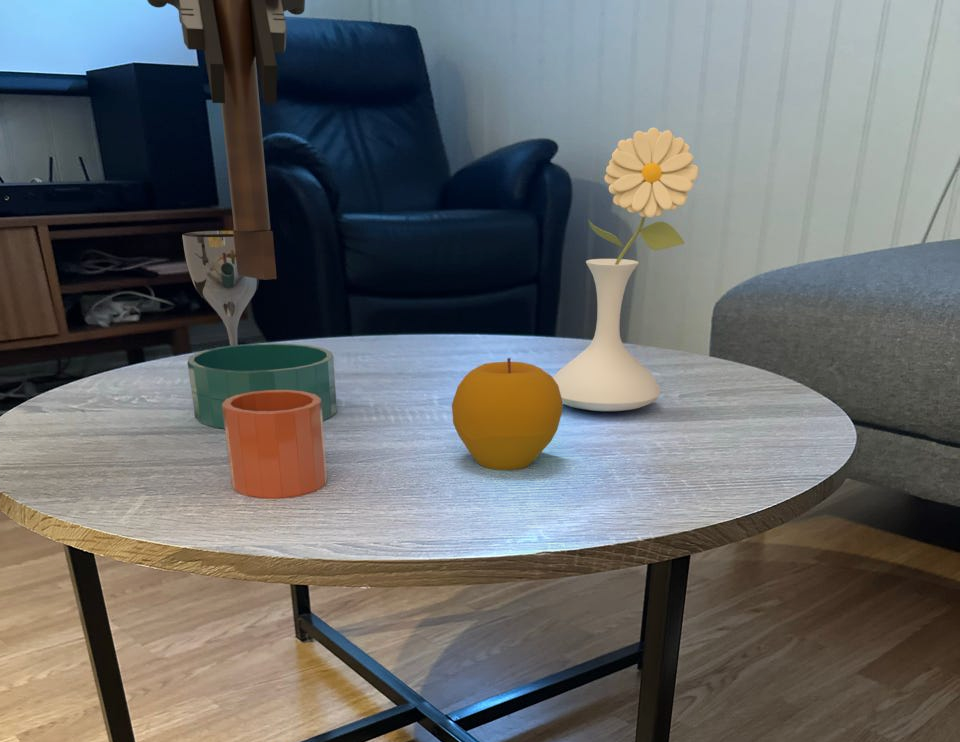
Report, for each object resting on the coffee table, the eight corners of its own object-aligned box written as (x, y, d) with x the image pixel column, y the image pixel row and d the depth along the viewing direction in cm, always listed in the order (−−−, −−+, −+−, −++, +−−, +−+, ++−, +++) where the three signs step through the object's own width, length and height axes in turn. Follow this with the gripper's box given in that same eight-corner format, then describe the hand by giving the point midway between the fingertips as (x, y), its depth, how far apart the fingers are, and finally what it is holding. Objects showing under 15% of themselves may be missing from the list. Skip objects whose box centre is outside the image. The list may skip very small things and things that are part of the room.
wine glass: (252, 366, 112) (237, 229, 104) (285, 378, 106) (272, 234, 99) (189, 375, 107) (169, 233, 100) (220, 388, 102) (201, 238, 95)
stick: (228, 276, 65) (187, -104, 55) (257, 273, 66) (222, -97, 57) (256, 280, 63) (218, -113, 53) (285, 277, 65) (253, -105, 55)
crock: (215, 493, 71) (203, 401, 68) (289, 472, 76) (281, 385, 73) (271, 515, 67) (261, 418, 64) (346, 492, 72) (340, 400, 68)
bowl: (169, 421, 90) (159, 356, 87) (281, 397, 98) (276, 338, 95) (251, 448, 82) (243, 378, 79) (365, 419, 90) (361, 356, 88)
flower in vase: (529, 412, 93) (538, 126, 81) (569, 388, 102) (582, 128, 90) (657, 428, 88) (687, 126, 76) (687, 401, 97) (717, 128, 86)
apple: (577, 483, 74) (584, 367, 70) (467, 492, 72) (467, 373, 68) (541, 451, 82) (545, 345, 77) (441, 458, 79) (439, 350, 75)
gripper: (308, -123, 68) (364, 136, 62) (81, -143, 64) (117, 133, 57) (314, -245, 61) (378, 33, 55) (59, -277, 57) (97, 21, 51)
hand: (244, 84), depth 56 cm, fingers closed on stick, 2 cm apart
